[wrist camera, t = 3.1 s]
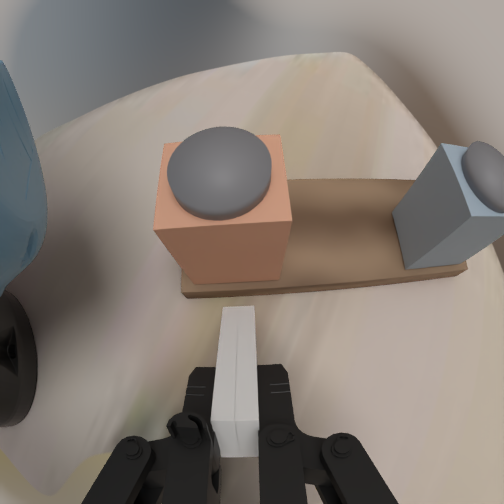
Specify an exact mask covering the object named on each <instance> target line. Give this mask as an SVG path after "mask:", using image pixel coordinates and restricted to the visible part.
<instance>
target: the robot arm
mask: <svg viewBox="0 0 504 504" xmlns="http://www.w3.org/2000/svg"><path fill="white" fill-rule="evenodd" d="M46 228H47V197H46V189H45V184H44V178H43V173H42V169H41V165H40V161H39V157H38V153H37V150H36V146H35V143H34V139H33V136H32V133H31V130H30V127H29V124H28V121H27V118H26V115H25V112H24V109H23V106H22V104H21V101H20V98H19V96H18V93H17V91H16V89H15V86H14V84H13V81H12V79H11V77H10V74H9V72H8V70H7V68H6V66H5V65H4V63H3V62H2V60H0V427H6V426H13V425H15V424H17V423H19V422H20V421H21V420H22V419H23V418H24V417H25V416H26V414H27V412H28V410H29V408H30V406H31V403H32V401H33V397H34V392H35V387H36V376H37V361H36V350H35V343H34V338H33V334H32V330H31V326H30V323H29V321H28V318H27V316H26V313H25V311H24V309H23V308H22V306H21V304H20V303H19V302H18V300H17V299H16V298H15V297H14V296H13V295H12V294H10V293H9V292H7V291H5V290H4V289H5V287H6V286H7V285H8V284H9V283H10V282H11V281H12V280H13V279H14V278H15V277H16V276H17V275H18V274H19V273H20V272H22V271H23V270H24V269H25V268H26V267H27V266H28V265H29V264H30V263H31V262H32V261H33V260H34V258H35V257H36V256H37V254H38V252H39V250H40V248H41V246H42V244H43V241H44V238H45V233H46ZM167 428H168V431H169V433H170V435H171V436H169V437H168V438H164V439H160V440H155V441H149V442H147V440H145V439H143V438H142V437H138V436H129V437H126V438H124V439H122V440H121V441H120V442H119V443H118V444H117V446H116V447H115V449H114V451H113V452H112V454H111V456H110V457H109V459H108V460H107V462H106V464H105V465H104V467H103V469H102V470H101V472H100V474H99V475H98V477H97V479H96V480H95V482H94V484H93V485H92V487H91V489H90V490H89V492H88V493H87V495H86V497H85V498H84V500H83V502H82V504H161V503H162V504H220V488H221V466H220V454H221V457H259V483H260V504H307V496H306V488H305V483H306V484H312V485H315V487H316V489H317V491H318V493H319V495H320V498H321V500H322V502H323V504H398V502H397V500H396V499H395V497H394V496H393V494H392V492H391V491H390V489H389V488H388V486H387V485H386V483H385V481H384V480H383V478H382V477H381V475H380V473H379V472H378V470H377V469H376V467H375V465H374V464H373V462H372V461H371V459H370V457H369V456H368V454H367V452H366V451H365V449H364V448H363V446H362V444H361V443H360V441H359V440H358V439H357V438H356V437H355V436H353V435H351V434H348V433H337V434H333V435H331V436H330V437H328V438H327V439H326V438H319V437H313V436H309V435H306V434H304V433H303V432H301V431H300V430H299V429H298V427H297V426H296V424H295V421H294V414H293V407H292V400H291V393H290V386H289V379H288V372H287V371H286V370H285V368H284V367H283V366H282V364H273V365H257V346H256V328H255V309H254V306H234V307H223V311H222V319H221V328H220V337H219V345H218V354H217V363H216V367H196V368H195V369H194V370H193V372H192V373H191V374H190V376H189V380H188V385H187V390H186V396H185V401H184V406H183V412H181V413H179V414H176V415H174V416H173V417H172V418H171V419H170V420H169V421H168V423H167Z"/></svg>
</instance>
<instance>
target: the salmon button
mask: <svg viewBox="0 0 504 504" xmlns="http://www.w3.org/2000/svg"><path fill="white" fill-rule="evenodd" d="M291 225H292V214H291V207H290V199H289V192H288V184H287V177H286V170H285V163H284V157H283V150H282V143H281V137H280V135H254V134H252V133H250V132H248V131H246V130H243V129H239V128H234V127H215V128H209V129H205V130H202V131H200V132H197V133H195V134H193V135H192V136H190V137H188V138H187V139H185V140H184V141H183V142H175V143H167V144H164V148H163V154H162V161H161V168H160V175H159V182H158V190H157V199H156V207H155V217H154V227H153V230H154V232H155V233H156V234H157V236H158V237H159V238H160V240H161V241H162V243H163V244H164V245H165V247H166V248H167V249H168V251H169V252H170V253H171V255H172V256H173V257H174V259H175V260H176V261H177V263H178V264H179V265H180V267H181V268H182V269H183V271H184V272H185V273H186V275H187V276H188V277H189V278H190V280H191V281H192V282H193V284H216V283H235V282H253V281H270V280H279V278H280V274H281V270H282V265H283V261H284V256H285V252H286V247H287V243H288V238H289V234H290V229H291Z"/></svg>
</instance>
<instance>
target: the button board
mask: <svg viewBox="0 0 504 504" xmlns="http://www.w3.org/2000/svg"><path fill="white" fill-rule="evenodd" d="M415 181H416V180H397V179H295V180H287V184H288V192H289V199H290V207H291V214H292V225H291V229H290V234H289V238H288V243H287V247H286V252H285V256H284V261H283V265H282V270H281V274H280V278H279V280H270V281H253V282H235V283H216V284H193V282H192V281H191V280H190V278H189V277H188V276H187V275H186V273H185V272H184V271H183V269H182V277H181V293H182V294H183V295H184V296H185V297H186V298H214V297H235V296H253V295H270V294H285V293H299V292H312V291H324V290H336V289H347V288H357V287H368V286H377V285H387V284H396V283H405V282H413V281H421V280H429V279H437V278H445V277H452V276H457V275H459V274H460V273H462V272H464V271H466V270H467V269H468V267H467V263H466V260H465V261H464V262H462V263H461V264H454V265H445V266H436V267H427V268H417V269H407V270H405V265H404V260H403V255H402V251H401V247H400V242H399V238H398V234H397V230H396V226H395V222H394V218H393V215H392V212H393V210H394V209H395V208H396V206H397V205H398V204H399V202H400V201H401V200H402V198H403V197H404V196H405V194H406V193H407V192H408V190H409V189H410V187H411V186H412V185H413V183H414V182H415Z"/></svg>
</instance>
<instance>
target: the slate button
mask: <svg viewBox="0 0 504 504" xmlns="http://www.w3.org/2000/svg"><path fill="white" fill-rule="evenodd" d="M392 215H393V218H394V222H395V226H396V230H397V234H398V238H399V242H400V247H401V251H402V255H403V260H404V265H405V270H407V269H417V268H427V267H436V266H445V265H454V264H461V263H462V262H464V261H465V260H467V259H469V258H470V257H472V256H473V255H475V254H476V253H478V252H479V251H481V250H482V249H484V248H485V247H487V246H488V245H490V244H491V243H492V242H494V241H495V240H497V239H498V238H499V237H501V236H502V235H504V156H503V155H502V154H501V153H500V152H499V151H498V150H497V149H495V148H494V147H492V146H491V145H489V144H487V143H484V142H480V141H476V142H474V143H472V144H471V145H470V146H469V148H468V147H462V146H456V145H450V144H443V143H441V144H440V146H439V147H438V149H437V150H436V152H435V153H434V155H433V156H432V158H431V159H430V161H429V162H428V164H427V165H426V166H425V168H424V169H423V171H422V172H421V174H420V175H419V176H418V178H417V179H416V181H415V182H414V183H413V185H412V186H411V187H410V189H409V190H408V192H407V193H406V194H405V196H404V197H403V198H402V200H401V201H400V202H399V204H398V205H397V206H396V208H395V209H394V210H393V212H392Z"/></svg>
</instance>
